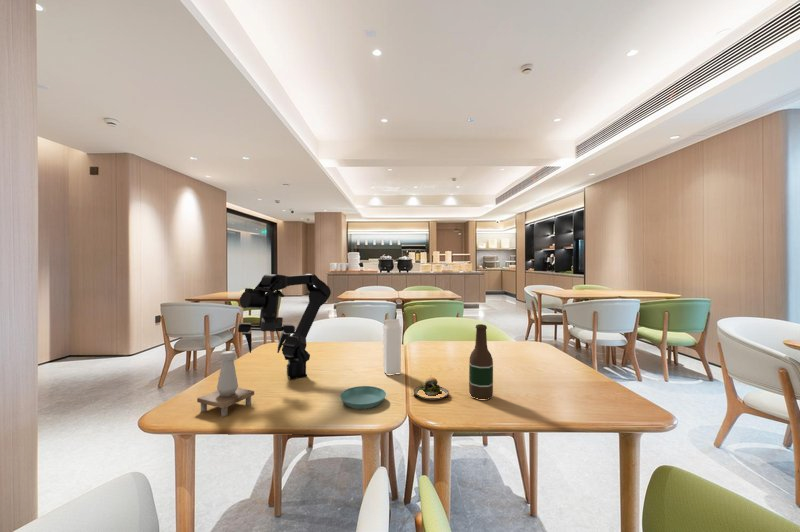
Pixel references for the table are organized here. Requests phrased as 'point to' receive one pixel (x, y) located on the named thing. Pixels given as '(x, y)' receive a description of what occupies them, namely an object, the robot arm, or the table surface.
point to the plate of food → (431, 389)
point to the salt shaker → (227, 375)
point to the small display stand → (225, 400)
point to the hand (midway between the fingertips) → (264, 352)
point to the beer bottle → (481, 367)
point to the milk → (392, 346)
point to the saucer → (362, 397)
